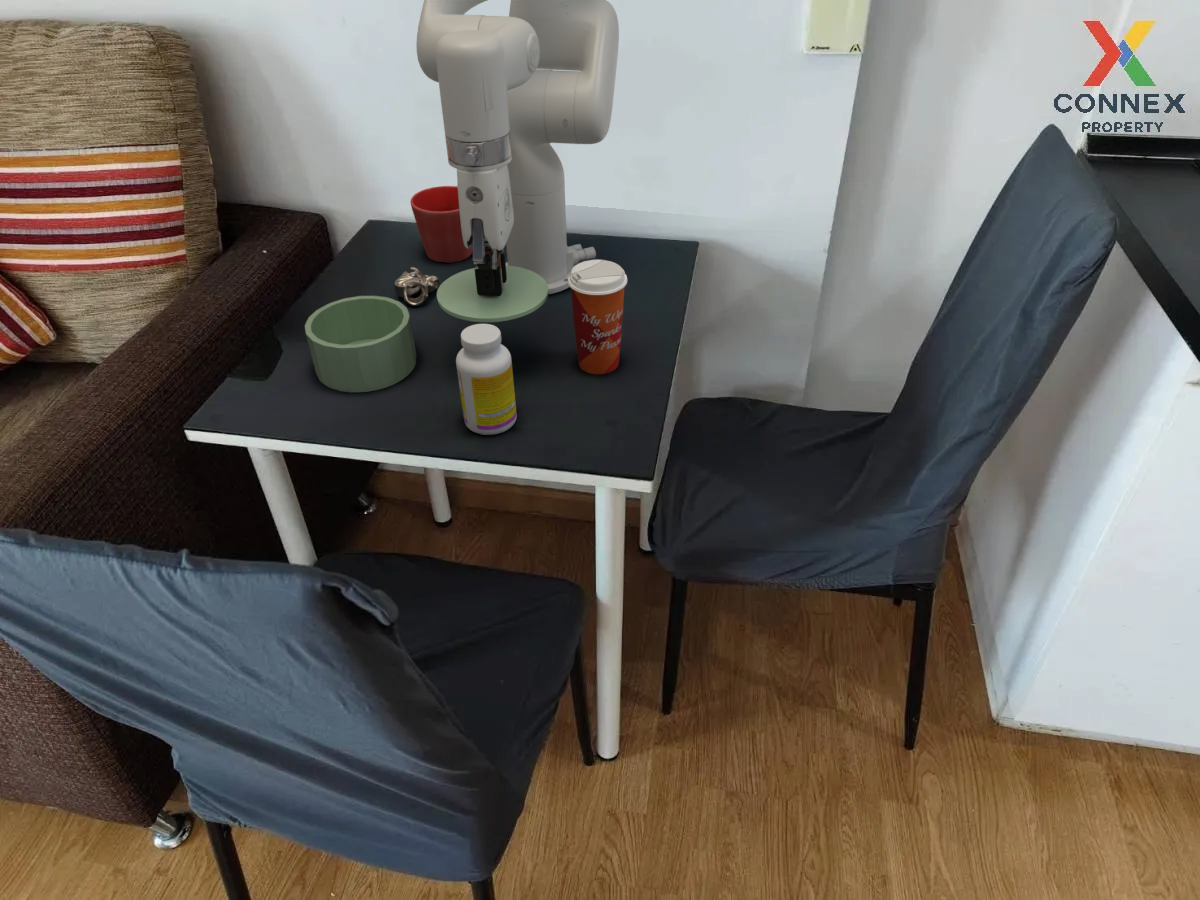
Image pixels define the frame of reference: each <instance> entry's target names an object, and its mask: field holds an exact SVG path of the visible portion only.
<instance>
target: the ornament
mask: <svg viewBox="0 0 1200 900" xmlns="http://www.w3.org/2000/svg"><path fill="white" fill-rule="evenodd" d="M409 270H410V271H411V272H407V270H405V271H404V272H402V274H401V275H400V276H399V277H398V278H397V279H395V280H394V291H395V294H396V295H397V296H399V297H401V298H403V301H404V302H405V303H406V304H408V306H411V307H419V306H422V305H423V304H424V302H425V301H427V299H428V297H429V294H431V293H433V292H434V291H435V290H436V289H437V290H438V288H439V287H440V285H441V283H440V278H439V277H438V276H437V275H433V274H431V275H429V274H424V275H423V273H422V272H421V271H420V270H419V269H418V268H416V267H414V266H410V268H409ZM419 293H421V294H420V295H419V296H418V297H413V296H415V295H417V294H419Z"/></svg>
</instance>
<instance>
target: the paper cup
mask: <svg viewBox="0 0 1200 900" xmlns="http://www.w3.org/2000/svg"><path fill="white" fill-rule="evenodd" d="M568 284H569V286H570V287H569V288H570V293H571V294H570V295H571V304H572V305H571V306H572V317H573V328H574V335H575V336H574V337H575V346H576V355H577V362H578V365H579V368H580V369H581V370H582V371H583V372H585V373H587V374H592V375H606V374H610V373H612V372H614V371H615V370H616V369H617V368H618V367H619V364H620V356H621V343H622V328H623V316H624V315H623V314H624V301H625V300H624V299H625V298H624V297H625V287H626V286H627V284H628V276H627V274H626V272H625V270H624V269H623V267H622V266H621V265H619V264H618V263H617V262H613V261H610V260H606V259H591V260H587V261H580V262H579V263H578V264H577V265H576V266H574V267H573V269H572V270H571V275H570V276H569V278H568Z"/></svg>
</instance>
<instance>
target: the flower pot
mask: <svg viewBox="0 0 1200 900" xmlns="http://www.w3.org/2000/svg"><path fill="white" fill-rule="evenodd" d="M410 207H411V210H412V213H413V217H414V220H415V223H416V226H417V230H418V233H419V235H420V239H421V241H422V245H423V248H424V250H425V253H426V256H427V257H428V258H429V259H430V260H432V261H434V262H438V263H445V264H446V263H448V264H449V263H451V264H452V263H458V262H461V261H465V260H466V259H468V258H469V257H470V256H471V255H473V246H472V247H471V249H470V250H468V249H467V248H466V247H465V246H464V243H463V237H462V230H461V221H460V211H459V199H458V188H457V185H456V186H455V185H441V186H432V187H429V188H428V187H427V188H425V189H422V190H420V191H418V192H416V193H414V194H413V195H412V197H411V198H410Z"/></svg>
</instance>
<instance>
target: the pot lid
mask: <svg viewBox="0 0 1200 900" xmlns="http://www.w3.org/2000/svg"><path fill="white" fill-rule="evenodd" d="M496 252H497V251H496ZM500 253H501V252H500ZM500 253H499V252H497V266H500V272H501V283H502V294H501V296H479V295H478V294H477V287H476V278H475V269H474V267H473V268H468V269H465V270H462V271H460V272H457V273H455V274H452V275H451V276H450V277H447V279H445V280H444V281H443V282H442V283H440V286H439V287H438V288H437V291H436V301H437V304H438V306H439V308H440V309H441V310H442V311H444V312H445V313H446V314H448V315H450V316H451V317H454V318H456V319H460V320H462V321H467V322H475V323H500V322H506V321H507V322H508V321H512V320H516V319H519V318H522V317H524V316H525V317H526V316H527V315H530V314H531V313H533V312H535V311H537V310H538V309H539V308H542V306H543V305H544V304H545V303H546V301H547V300H548V297H549V294H548V285H547V283H546V281H545V280H544V279H543V278H542V277H541V276H540V275H538V274H537V273H535V272H533V271H530V270H527V269H524V268H520V267H514V266H506V274H507V280H506V282H505V283H503V280H502V268H501V257H500ZM485 254H489V255H490V257H491V252H490V251H485Z"/></svg>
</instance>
